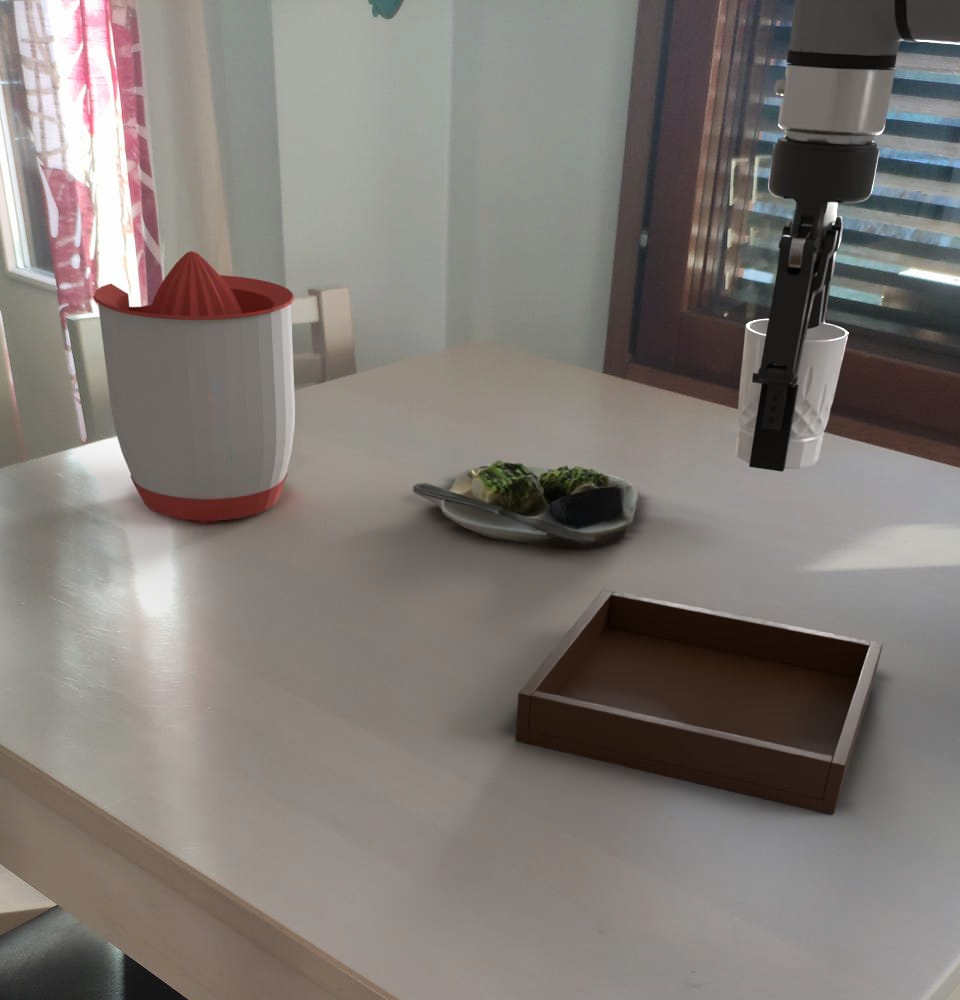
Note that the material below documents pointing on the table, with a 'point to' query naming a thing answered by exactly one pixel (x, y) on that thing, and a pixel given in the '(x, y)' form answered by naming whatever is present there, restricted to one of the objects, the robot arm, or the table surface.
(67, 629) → the table surface
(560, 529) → the salad plate
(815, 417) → the white cup
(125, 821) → the table surface
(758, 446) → the robot arm
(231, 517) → the citrus juicer
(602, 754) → the tray
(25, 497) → the table surface
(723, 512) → the table surface
